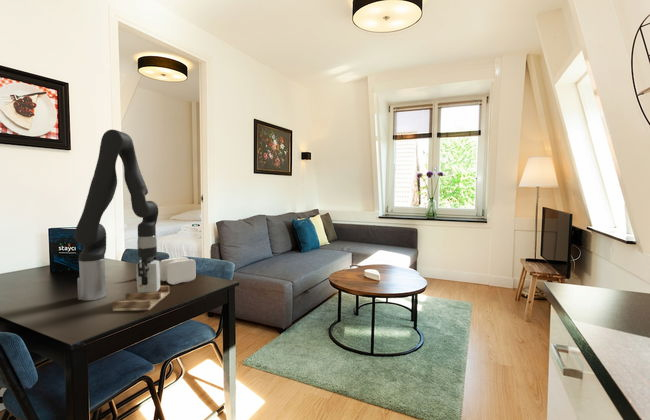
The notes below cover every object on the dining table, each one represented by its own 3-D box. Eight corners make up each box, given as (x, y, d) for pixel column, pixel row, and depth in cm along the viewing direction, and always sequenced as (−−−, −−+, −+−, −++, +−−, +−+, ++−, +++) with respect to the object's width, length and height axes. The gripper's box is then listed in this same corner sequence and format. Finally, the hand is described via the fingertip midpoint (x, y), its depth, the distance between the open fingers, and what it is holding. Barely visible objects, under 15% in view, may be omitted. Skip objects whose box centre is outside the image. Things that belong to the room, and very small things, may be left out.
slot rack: (112, 310, 131) (112, 302, 131) (138, 293, 153) (138, 285, 152) (149, 310, 133) (149, 301, 132) (169, 292, 154) (169, 285, 154)
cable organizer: (166, 286, 164) (165, 263, 163) (159, 281, 171) (158, 259, 170) (196, 280, 174) (195, 259, 173) (187, 276, 182) (187, 255, 181)
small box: (160, 287, 152) (159, 260, 151) (157, 292, 145) (156, 263, 144) (141, 289, 150) (140, 261, 149) (136, 293, 143) (135, 264, 142)
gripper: (145, 243, 153) (146, 278, 154) (130, 249, 138) (131, 287, 140) (162, 243, 153) (163, 277, 155) (148, 248, 139) (150, 287, 140)
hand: (148, 282), depth 147 cm, fingers closed on small box, 6 cm apart
